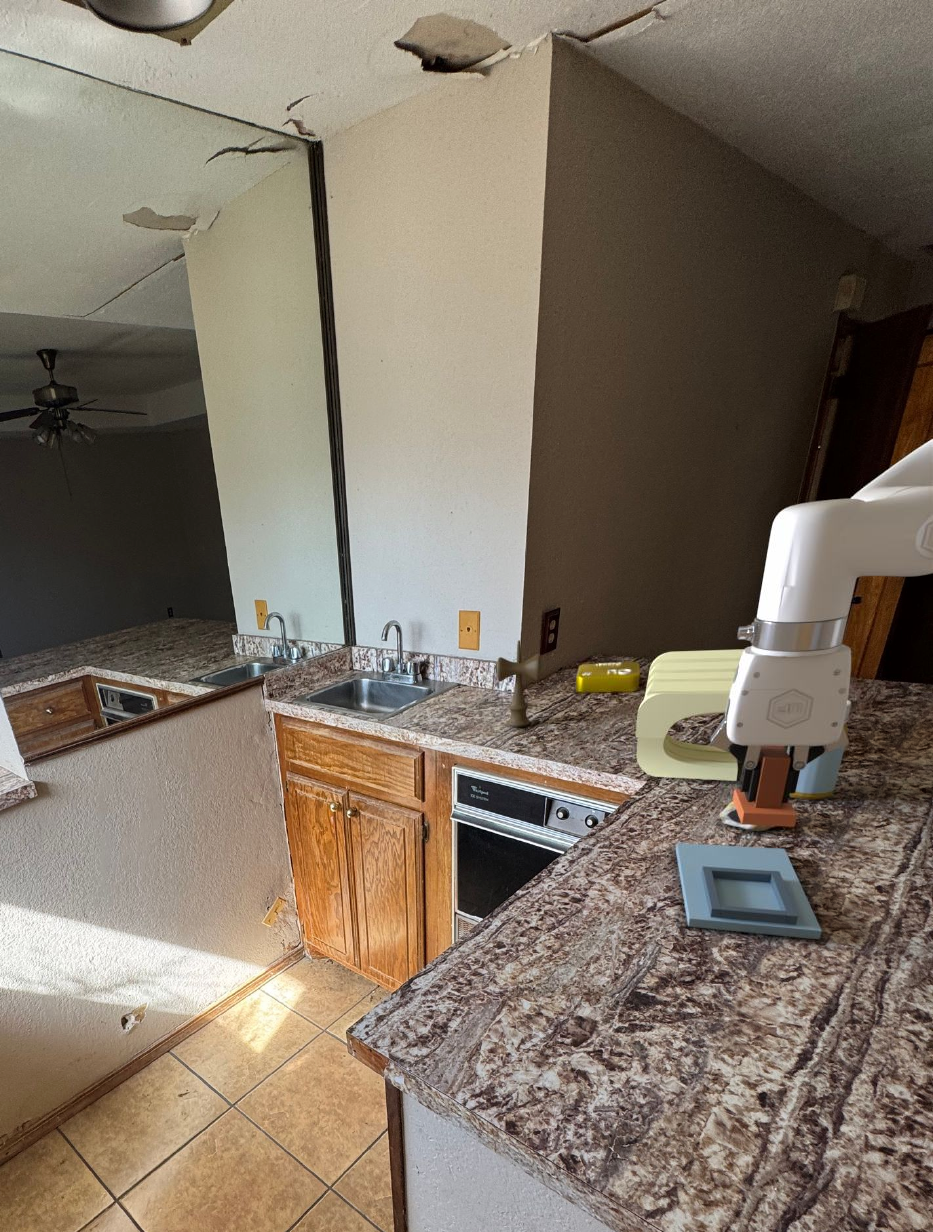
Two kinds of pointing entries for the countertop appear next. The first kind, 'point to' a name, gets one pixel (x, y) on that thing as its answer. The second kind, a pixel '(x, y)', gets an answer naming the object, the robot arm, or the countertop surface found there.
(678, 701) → the slatted curved stool
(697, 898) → the back board
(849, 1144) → the countertop surface
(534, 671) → the kendama
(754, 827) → the pastry
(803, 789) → the bottle
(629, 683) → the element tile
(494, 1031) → the countertop surface
